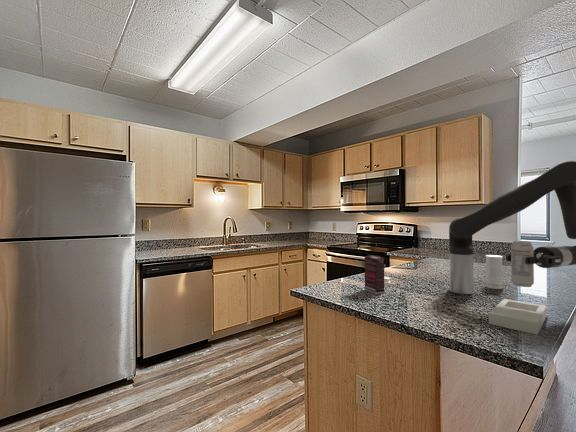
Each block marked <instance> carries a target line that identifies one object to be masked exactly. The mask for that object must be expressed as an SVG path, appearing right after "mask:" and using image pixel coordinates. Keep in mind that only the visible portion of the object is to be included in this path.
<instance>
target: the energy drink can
mask: <svg viewBox="0 0 576 432" xmlns="http://www.w3.org/2000/svg"><path fill="white" fill-rule="evenodd" d="M533 251H534V246H533V244H532V242H531V241H527V240H514V241H512V244H511V246H510V253H511V261H510V263H511V264H510V268H511V269H510V270H511V271H510V272H511V283H512V285H514V286H515V287H522V288H531V287H532V286H533V285H534V283H535V277H534V276H535V275H534V273H535V272H534V271H535V270H534V268H535V267H534V265H535V264H526V263H525V258H526V257H534V253H533Z"/></svg>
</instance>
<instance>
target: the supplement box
mask: <svg viewBox="0 0 576 432" xmlns="http://www.w3.org/2000/svg"><path fill="white" fill-rule="evenodd" d="M364 290H365V291H367V292H369V293H373V294H375V295H380V294H381V295H382V294H385V257H380V256H375V255H365V256H364Z"/></svg>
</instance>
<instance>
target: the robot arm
mask: <svg viewBox="0 0 576 432" xmlns="http://www.w3.org/2000/svg"><path fill="white" fill-rule="evenodd" d="M553 191H554V193H555V194H556V197H557V199H558V203H559V205H560V210H561V213H562V214H561V215H562V220H563V223H564V224H563V225H564V230H565V234H566V236H567V238H568V239H570V240H576V161H575V160H566V161H561V162H560V163H557V164H556V165H554V166H553V167H551V168H550V169H549V170H547V171H545V172H544V173H542V174H541V175H539V176H537V177H535V178H534V179H532V180H530V181H528V182H525V183H524V184H521V185H519V186H517V187H514V188H513V189H510V190H509V191H507V192H505V193H502V194H501V195H499V196H497V197H496V198H494V199H492V200H491V201H489V203H487V204H486V205H484V206H483V207H482V208H480V209H479V210H477V211H475V212H472V213H471V214H469V215H465V216H463V217H459V218H458V217H457V218H455V219H453V220H452V221H451V222H450V224H449V227H448V245H449V270H448V271H449V272H448V273H449V275H448V277H449V281H448V283H449V285H448V286H449V287H448V289H449V291H450V293H454V294H458V295H459V294H461V295H472V294H474V290H475V289H474V282H475V281H474V245H473V235H475V234H476V233H478V232H480V231H481V230H483V229H484V228H487V227H488V226H491V225H492V224H495V223H497V222H499V221H502V220H505V219H508V218H509V217H511V216H513V215H515V214H517V213H519V212H522V211H524V210H525V209H527V208H529V207H530V206H532V205H533V204H535V203H536V202H537V201H539V200H540V199H542V198H544V197H545V196H547V194H549V193H551V192H553ZM533 253H534V257H526V258H525V263H526V264H534V265H536V266H537V267H539V268H543V269H551V268H552V269H553V268H561V267H565V266H573V265H575V266H576V245H561V246H560V245H547V246H538V247H536V248H535V249H533ZM505 257H506V258H505V260H506V262H511V252H509V254H506V255H505Z"/></svg>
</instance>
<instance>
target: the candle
mask: <svg viewBox="0 0 576 432" xmlns="http://www.w3.org/2000/svg"><path fill="white" fill-rule="evenodd" d="M485 258H486V259H485V260H486V261H485V262H486V263H485V264H486V265H485V268H484V269H485V275H484V276H485V283H486V284H487V285H486V288H488V289H494V290H501V289H502V285H504V283H503V281H504V280H503V278H504V268H503V258H504V256H503V255H495V254H494V255H493V254H486V255H485Z"/></svg>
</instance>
